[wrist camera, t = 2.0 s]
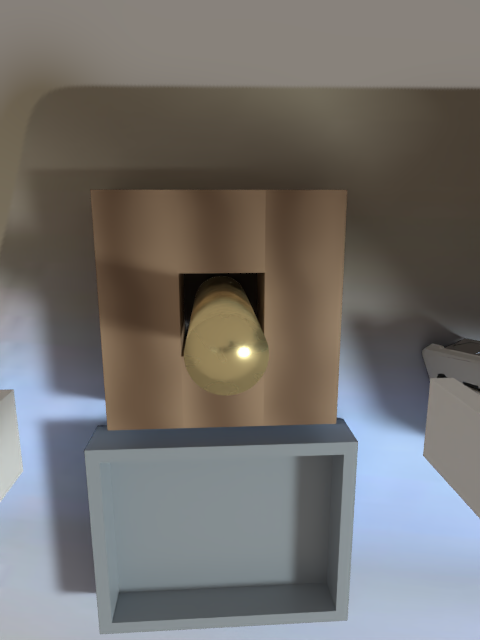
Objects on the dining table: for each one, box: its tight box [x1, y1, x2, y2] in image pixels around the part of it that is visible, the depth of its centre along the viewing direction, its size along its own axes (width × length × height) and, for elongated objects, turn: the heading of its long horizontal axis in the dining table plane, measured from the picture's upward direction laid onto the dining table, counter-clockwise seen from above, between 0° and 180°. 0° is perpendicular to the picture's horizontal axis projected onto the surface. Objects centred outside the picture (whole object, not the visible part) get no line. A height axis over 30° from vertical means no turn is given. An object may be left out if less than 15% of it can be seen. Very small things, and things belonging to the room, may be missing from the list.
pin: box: [184, 276, 269, 395], centre depth 28 cm, size 4×4×14 cm
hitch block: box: [90, 190, 347, 430], centre depth 33 cm, size 16×16×5 cm
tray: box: [84, 419, 358, 634], centre depth 37 cm, size 20×16×4 cm
